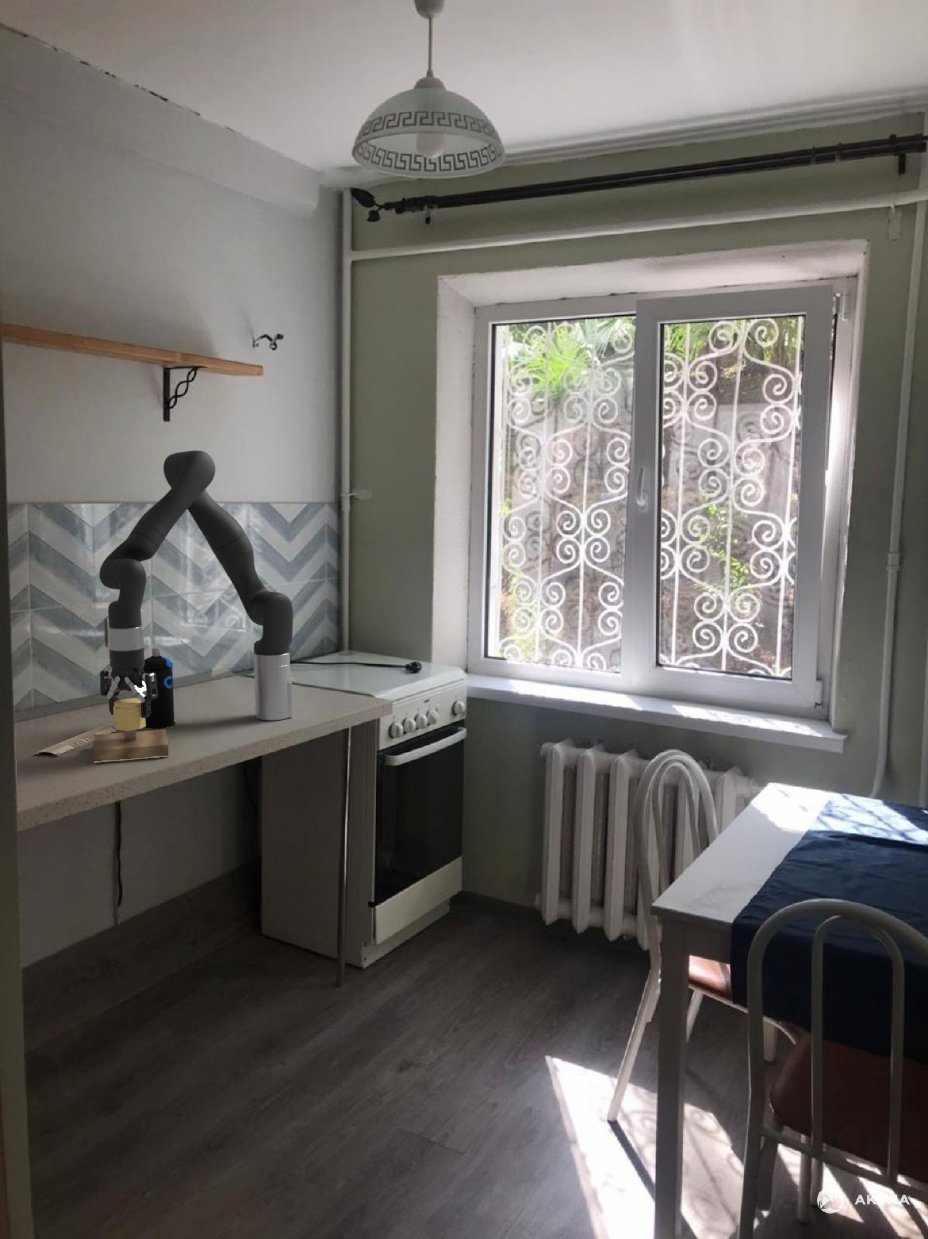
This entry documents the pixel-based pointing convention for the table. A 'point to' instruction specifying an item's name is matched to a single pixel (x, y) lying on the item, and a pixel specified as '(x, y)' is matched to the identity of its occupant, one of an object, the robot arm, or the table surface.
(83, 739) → the newspaper
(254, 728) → the table surface
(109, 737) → the bolt base
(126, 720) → the cap
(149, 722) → the aerosol can
